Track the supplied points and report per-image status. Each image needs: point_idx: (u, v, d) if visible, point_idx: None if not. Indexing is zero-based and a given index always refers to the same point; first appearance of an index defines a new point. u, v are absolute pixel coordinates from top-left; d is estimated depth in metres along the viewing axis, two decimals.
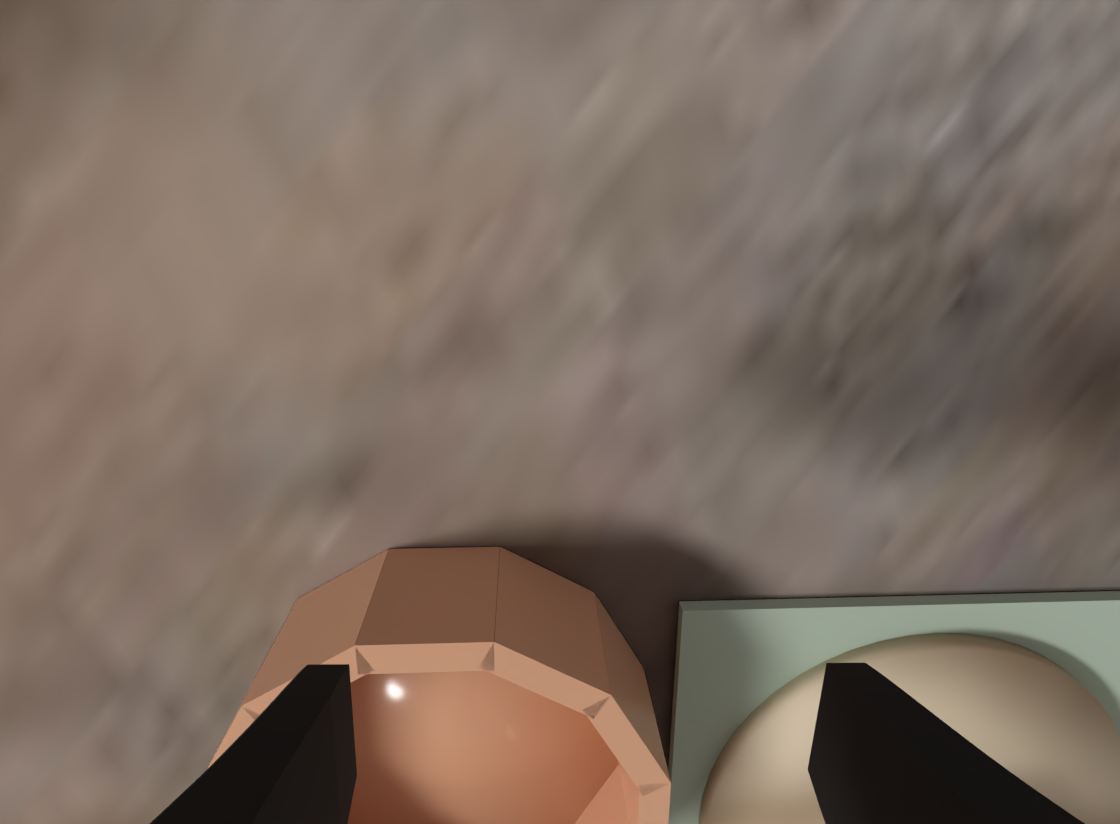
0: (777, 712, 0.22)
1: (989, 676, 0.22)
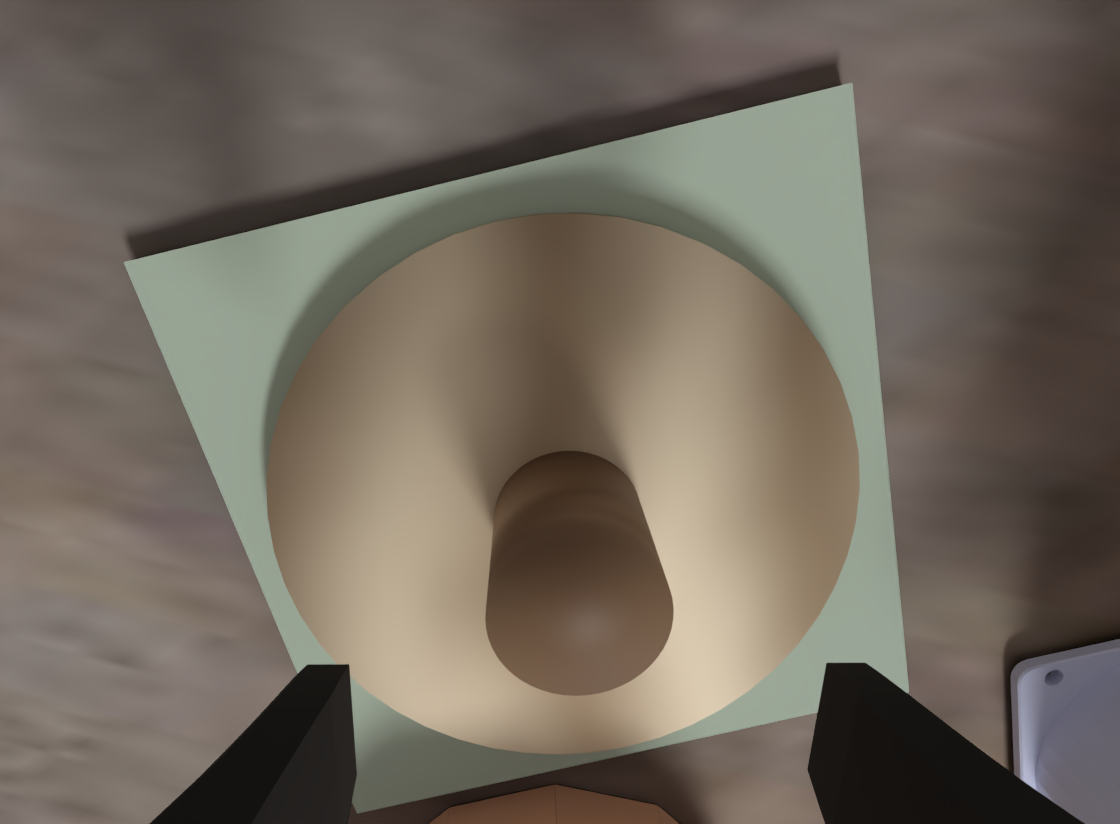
0: (431, 728, 0.19)
1: (308, 527, 0.17)
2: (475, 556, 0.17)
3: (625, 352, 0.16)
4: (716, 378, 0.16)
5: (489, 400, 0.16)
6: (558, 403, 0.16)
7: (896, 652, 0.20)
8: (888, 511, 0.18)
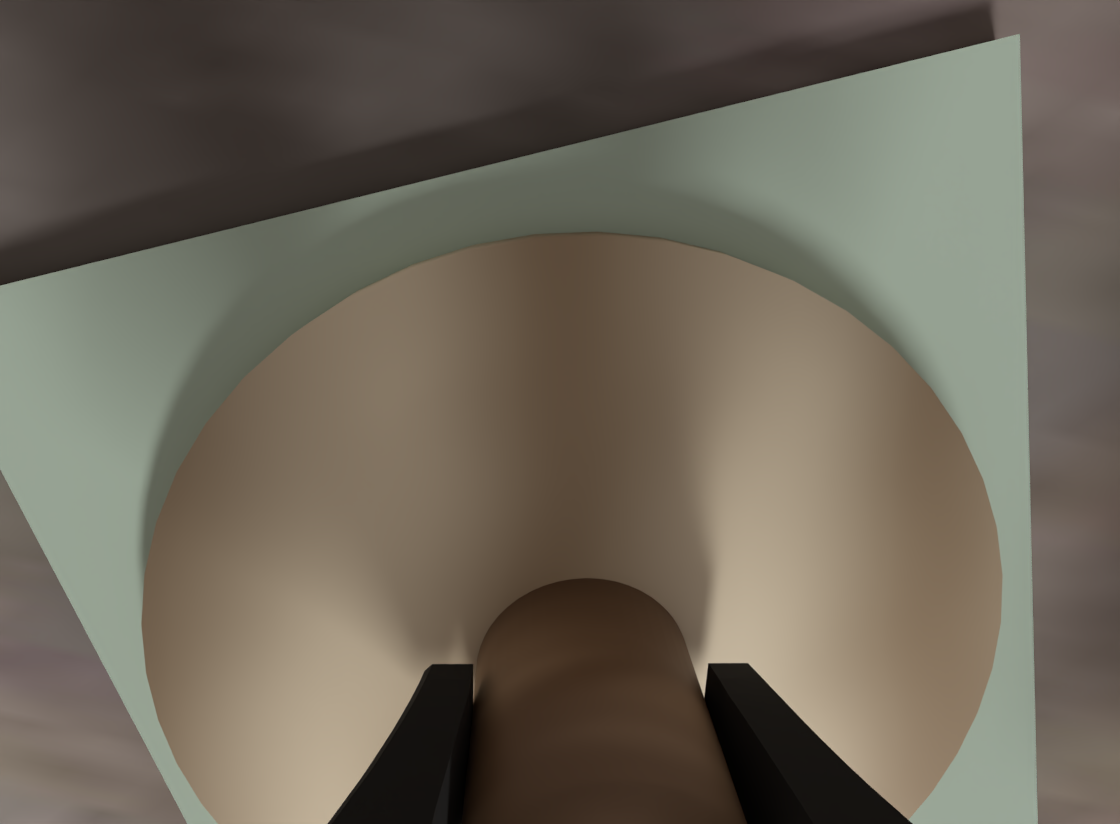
0: None
1: (206, 687, 0.12)
2: None
3: (669, 439, 0.11)
4: (802, 475, 0.11)
5: (467, 509, 0.11)
6: (569, 512, 0.11)
7: (1025, 822, 0.15)
8: (1028, 644, 0.13)
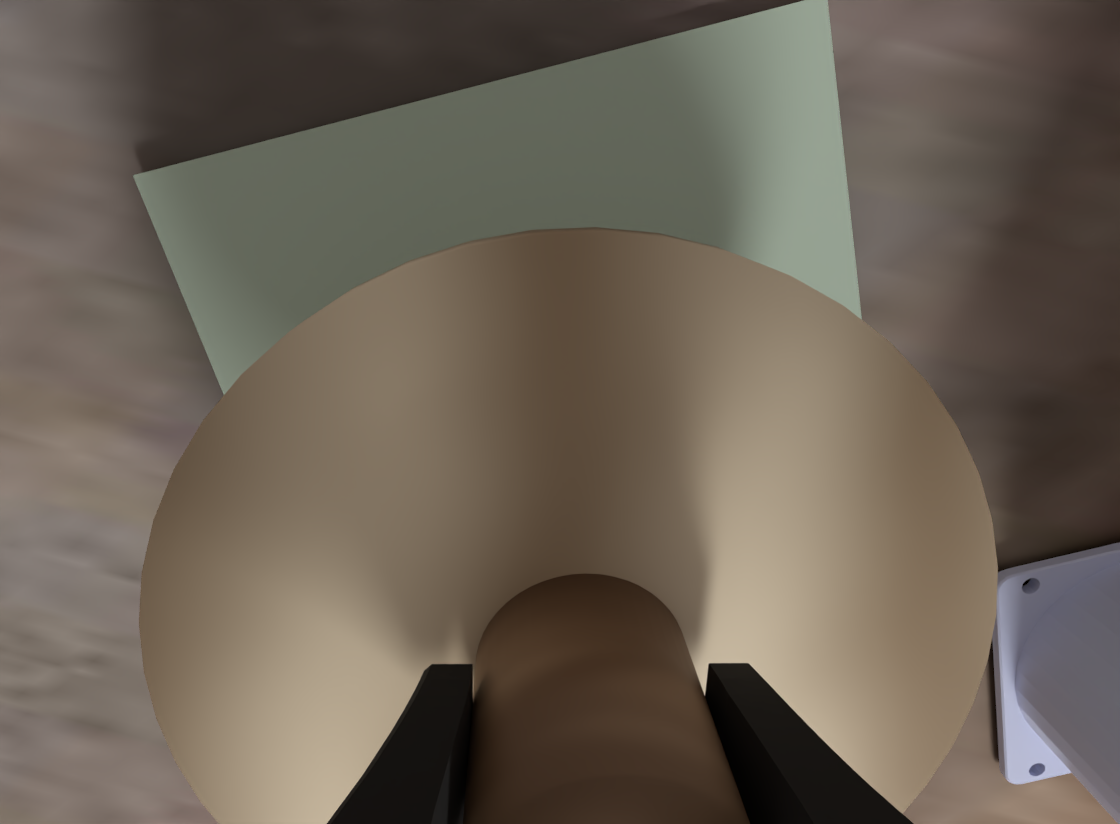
0: None
1: (204, 685, 0.12)
2: None
3: (667, 434, 0.11)
4: (800, 469, 0.11)
5: (466, 505, 0.11)
6: (568, 508, 0.11)
7: None
8: None
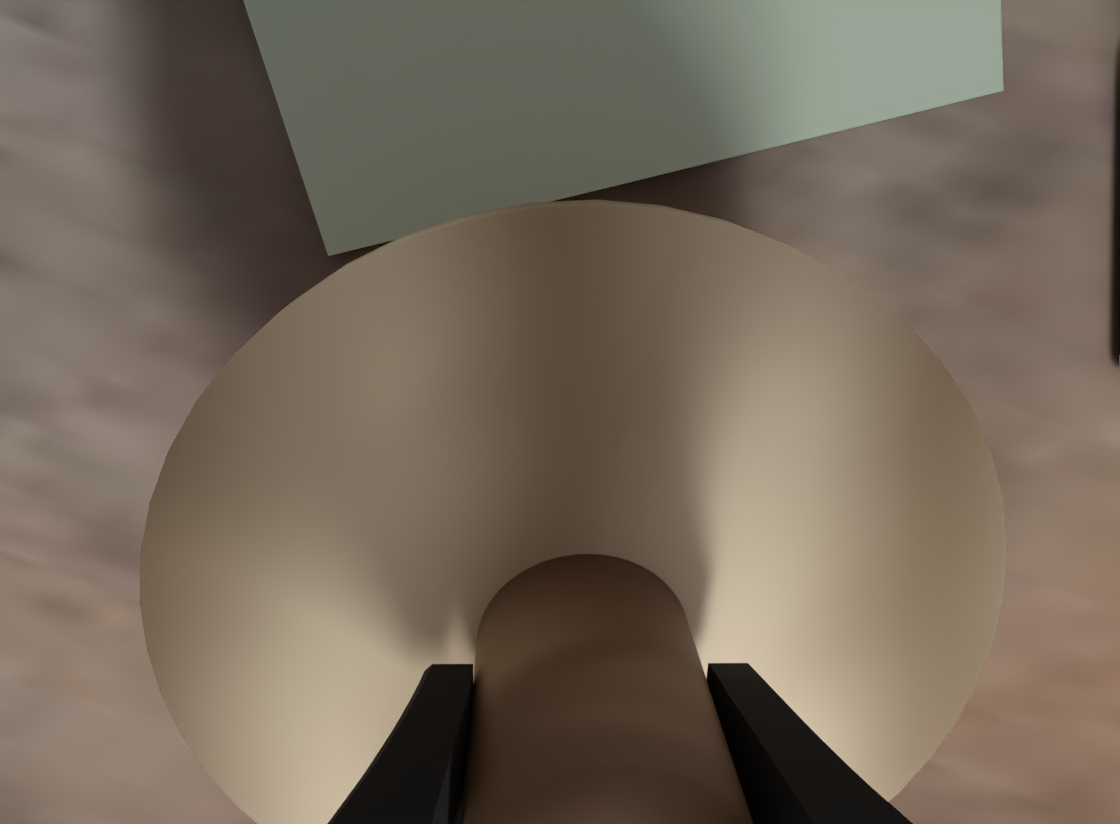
0: None
1: (207, 662, 0.12)
2: None
3: (670, 414, 0.11)
4: (806, 450, 0.11)
5: (465, 486, 0.11)
6: (568, 489, 0.11)
7: (990, 25, 0.16)
8: None
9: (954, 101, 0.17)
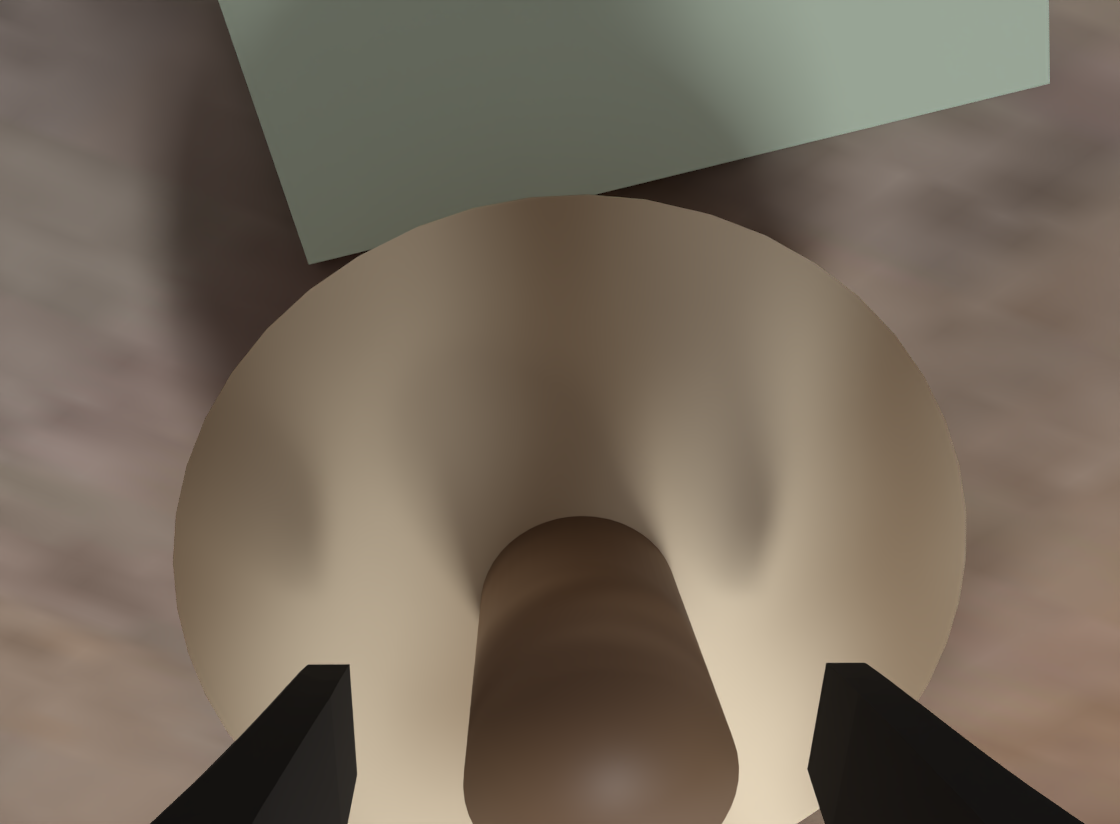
0: None
1: (232, 621, 0.13)
2: (456, 654, 0.13)
3: (655, 384, 0.12)
4: (778, 417, 0.12)
5: (471, 451, 0.12)
6: (564, 454, 0.12)
7: (1037, 11, 0.15)
8: None
9: (996, 95, 0.15)
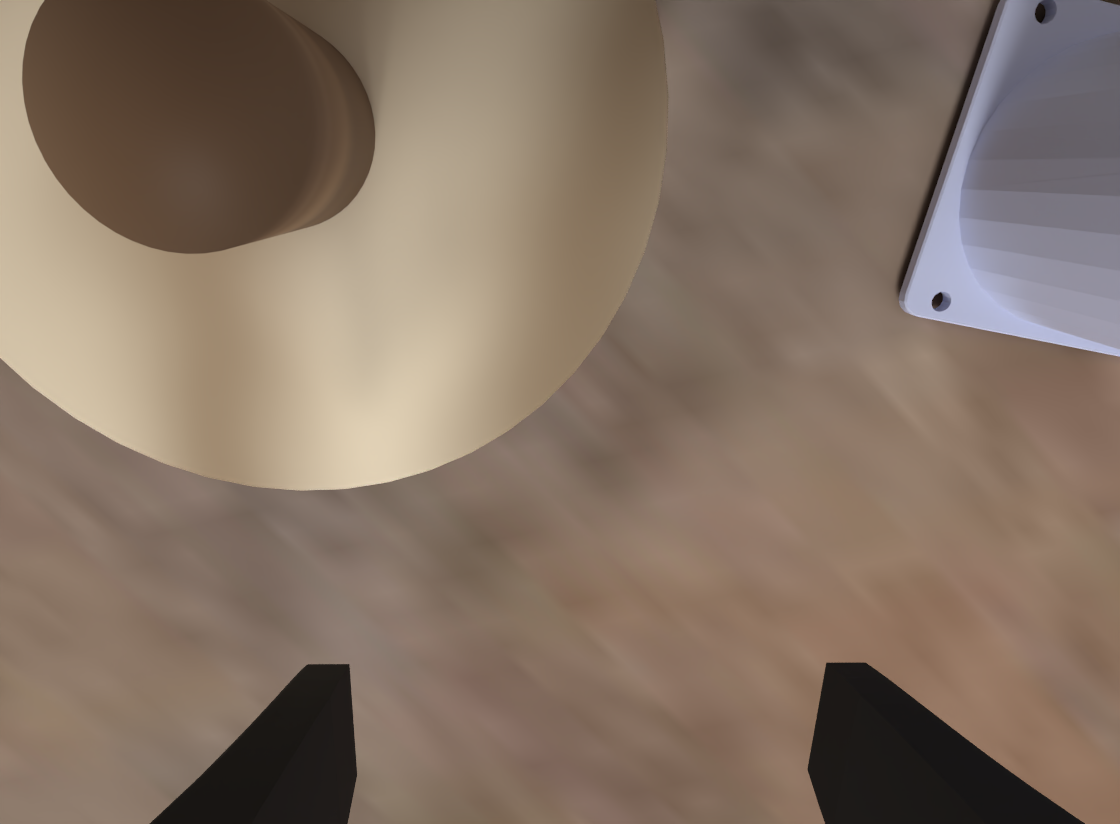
0: (0, 357, 0.14)
1: None
2: None
3: None
4: (523, 15, 0.12)
5: None
6: None
7: None
8: None
9: None
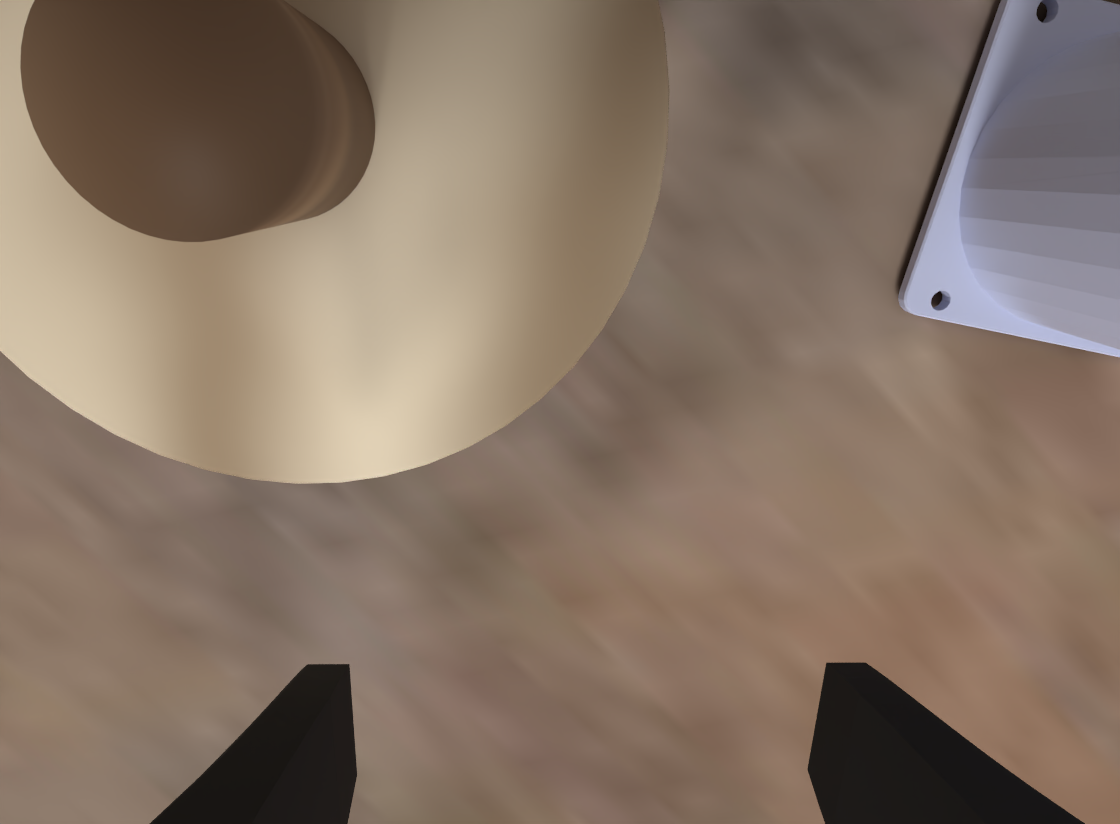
0: None
1: None
2: None
3: None
4: (525, 7, 0.12)
5: None
6: None
7: None
8: None
9: None
